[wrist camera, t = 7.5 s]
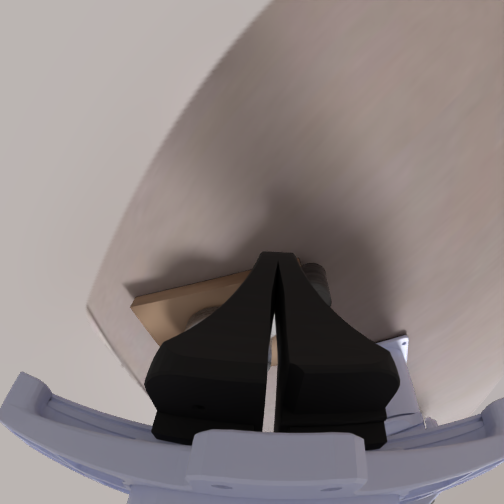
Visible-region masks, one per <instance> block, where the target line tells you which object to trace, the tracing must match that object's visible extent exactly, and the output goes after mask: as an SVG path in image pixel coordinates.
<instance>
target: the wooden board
mask: <svg viewBox="0 0 504 504" xmlns="http://www.w3.org/2000/svg"><path fill="white" fill-rule="evenodd" d="M296 259H297V261H298V263H299V265H300V266H301V264H300V261H299V258H296ZM250 272H251V270H248V271H244V272H240V273H236V274H232V275H228V276H224V277H220V278H216V279H211V280H207V281H203V282H199V283H195V284H190V285H186V286H182V287H178V288H174V289H169V290H165V291H161V292H156V293H152V294H148V295H143V296H139V297H136V298H135V300H134V301H133V303H132V305H131V307H130V308H131V309H132V311H133V312H134V313H135V315H136V316H137V318H138V319H139V320H140V322H141V323H142V324H143V326H144V327H145V328H146V330H147V331H148V332H149V333H150V335H151V336H152V337H153V339H154V340H155V341H156V342H157V344H158V345H159V346H161V345H162V343H163V342H164V341H166V340H169V339H171V338H173V337H175V336H177V335H179V334H181V333H183V332H184V331H185V328H186V325H187V322H188V320H189V319H190V318H191V317H192V315H194V314H195V313H197V312H198V311H200V310H203V309H205V308H209V307H216V306H221V305H222V304H224V303H225V302H226V301H227V300H228V299H229V298H230V297H231V296H232V295H233V293H234V292H235V291H236V290H237V289H238V288H239V286H240V285H241V284H242V283H243V282H244V280H245V279H246V278H247V276H248V275H249V273H250ZM276 365H278V356H277V340H276V335H275V336H273V337H272V358H271V366H276Z"/></svg>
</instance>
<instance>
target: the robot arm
mask: <svg viewBox="0 0 504 504" xmlns="http://www.w3.org/2000/svg"><path fill="white" fill-rule="evenodd" d="M274 312H275V326H276V340H277V356H278V367H277V388H276V406H275V421H274V433H273V432H262V428H263V418H264V407H265V396H266V384H267V369H268V350H269V344H270V338H271V332H272V325H273V319H274ZM408 340H409V339H408V336H407V335H403V336H400V337H396V338H393V339H390V340H386V341H383V342H379V343H375V342H373V341H371V340H369V339H368V338H366V337H365V336H364V335H362V334H361V333H359V332H358V331H356V330H355V329H354V328H353V327H351V326H350V325H349V324H348V323H346V322H345V321H344V320H343V319H342V318H341V317H339V316H338V315H337V314H336V313H335V312H334V311H333V310H332V309H331V308H330V307H329V306H328V304H327V303H326V302H325V301H324V300H323V299H322V297H321V296H320V295H319V294H318V292H317V291H316V290H315V288H314V287H313V286H312V284H311V283H310V281H309V280H308V278H307V276H306V275H305V273H304V272H303V270H302V268H301V266H300V265H299V263H298V261H297V259H296V256H295V255H294V254H293V253H282V252H262V253H261V254H260V256H259V258H258V260H257V262H256V264H255V266H254V267H253V269H252V270H251V272H250V273H249V275H248V276H247V278H246V279H245V280H244V282H243V283H242V284H241V285H240V286H239V288H238V289H237V290H236V291H235V292H234V293H233V295H232V296H231V297H230V298H229V299H228V300H227V301H226V302H225V303H224V304H222V305H221V306H220V307H219V308H218V309H217V310H215V311H214V312H213V313H212V314H211V315H209V316H208V317H207V318H205V319H204V320H202V321H201V322H199V323H198V324H196V325H195V326H193V327H192V328H190V329H188V330H187V331H185V332H183V333H181V334H179V335H177V336H175V337H173V338H171V339H169V340H166V341H164V342H163V343H162V345H161V346H160V348H159V350H158V351H157V353H156V355H155V357H154V358H153V361H152V363H151V365H150V368H149V371H148V373H147V376H146V379H145V383H144V385H145V388H146V391H147V393H148V395H149V397H150V398H151V400H152V402H153V404H154V406H155V407H156V409H157V413H156V416H155V420H154V423H153V426H150V425H146V424H142V423H138V422H134V421H130V420H127V419H123V418H120V417H116V416H113V415H110V414H107V413H103V412H100V411H97V410H94V409H91V408H88V407H86V406H83V405H80V404H78V403H75V402H72V401H70V400H67V399H65V398H62V397H60V396H57V395H55V394H53V393H52V392H51V390H50V389H49V388H48V386H47V385H46V384H44V383H43V382H42V381H41V380H39V379H37V378H35V377H33V376H31V375H29V374H26V373H24V372H20V374H19V376H18V377H17V379H16V381H15V382H14V384H13V386H12V388H11V390H10V391H9V393H8V395H7V397H6V399H5V400H4V402H3V404H2V406H1V408H0V422H1V423H2V424H3V425H4V426H5V427H7V428H8V429H9V430H10V431H11V432H12V433H14V434H15V435H16V436H17V437H19V438H20V439H21V440H22V441H24V442H25V443H26V444H27V445H29V446H30V447H32V448H33V449H35V450H37V451H38V452H40V453H42V454H43V455H45V456H47V457H49V458H50V459H52V460H54V461H56V462H58V463H60V464H61V465H63V466H65V467H67V468H69V469H71V470H73V471H75V472H77V473H80V474H81V475H83V476H86V477H88V478H90V479H92V480H94V481H96V482H99V483H101V484H104V485H106V486H108V487H111V488H113V489H116V490H119V491H121V492H124V493H127V494H129V498H128V501H127V504H431V502H432V501H433V500H434V499H435V498H436V497H437V496H438V495H439V494H440V493H441V492H442V491H444V490H447V489H449V488H452V487H455V486H457V485H459V484H462V483H464V482H466V481H469V480H471V479H473V478H475V477H477V476H480V475H482V474H484V473H486V472H488V471H490V470H491V469H493V468H495V467H496V466H498V465H500V464H501V463H503V462H504V398H501V399H498V400H496V401H494V402H492V403H491V404H489V405H488V406H487V407H486V408H485V409H484V410H483V411H482V412H481V414H478V415H475V416H472V417H468V418H465V419H462V420H458V421H455V422H451V423H448V424H444V425H440V426H438V424H437V422H436V420H434V419H431V417H428V418H426V419H425V423H426V427H427V428H426V429H425V425H424V421H423V417H422V413H421V412H420V409H419V405H418V402H417V398H416V394H415V391H414V387H413V384H412V380H411V377H410V374H409V371H408V367H407V364H406V363H407V353H408Z"/></svg>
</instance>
